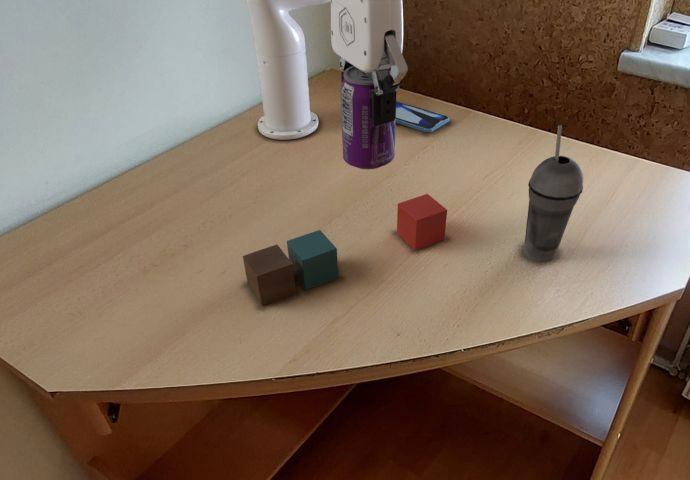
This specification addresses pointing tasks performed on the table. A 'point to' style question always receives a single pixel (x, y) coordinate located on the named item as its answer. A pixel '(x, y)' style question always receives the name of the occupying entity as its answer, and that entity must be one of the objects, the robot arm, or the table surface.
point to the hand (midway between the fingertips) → (368, 110)
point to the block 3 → (421, 221)
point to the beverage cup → (551, 203)
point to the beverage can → (364, 123)
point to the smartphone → (419, 117)
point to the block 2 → (313, 259)
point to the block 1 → (269, 274)
